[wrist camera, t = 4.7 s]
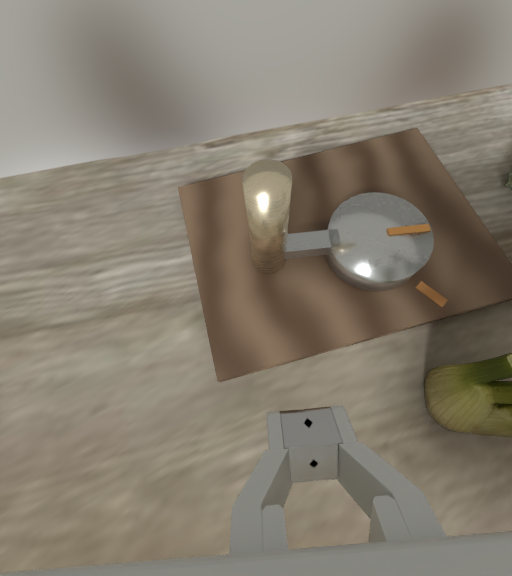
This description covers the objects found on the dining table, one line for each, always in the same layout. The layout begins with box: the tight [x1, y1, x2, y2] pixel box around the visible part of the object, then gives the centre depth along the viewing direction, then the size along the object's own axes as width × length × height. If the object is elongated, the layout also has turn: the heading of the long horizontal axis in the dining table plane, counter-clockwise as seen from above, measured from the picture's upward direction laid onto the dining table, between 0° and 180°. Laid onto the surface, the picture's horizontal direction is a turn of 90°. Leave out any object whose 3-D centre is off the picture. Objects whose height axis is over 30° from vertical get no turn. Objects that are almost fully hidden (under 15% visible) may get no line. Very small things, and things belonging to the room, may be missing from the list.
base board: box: [178, 128, 512, 382], centre depth 32 cm, size 32×24×2 cm
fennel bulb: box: [424, 353, 512, 437], centre depth 21 cm, size 6×5×12 cm
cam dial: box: [242, 159, 434, 292], centre depth 25 cm, size 18×10×12 cm, turn 95°
